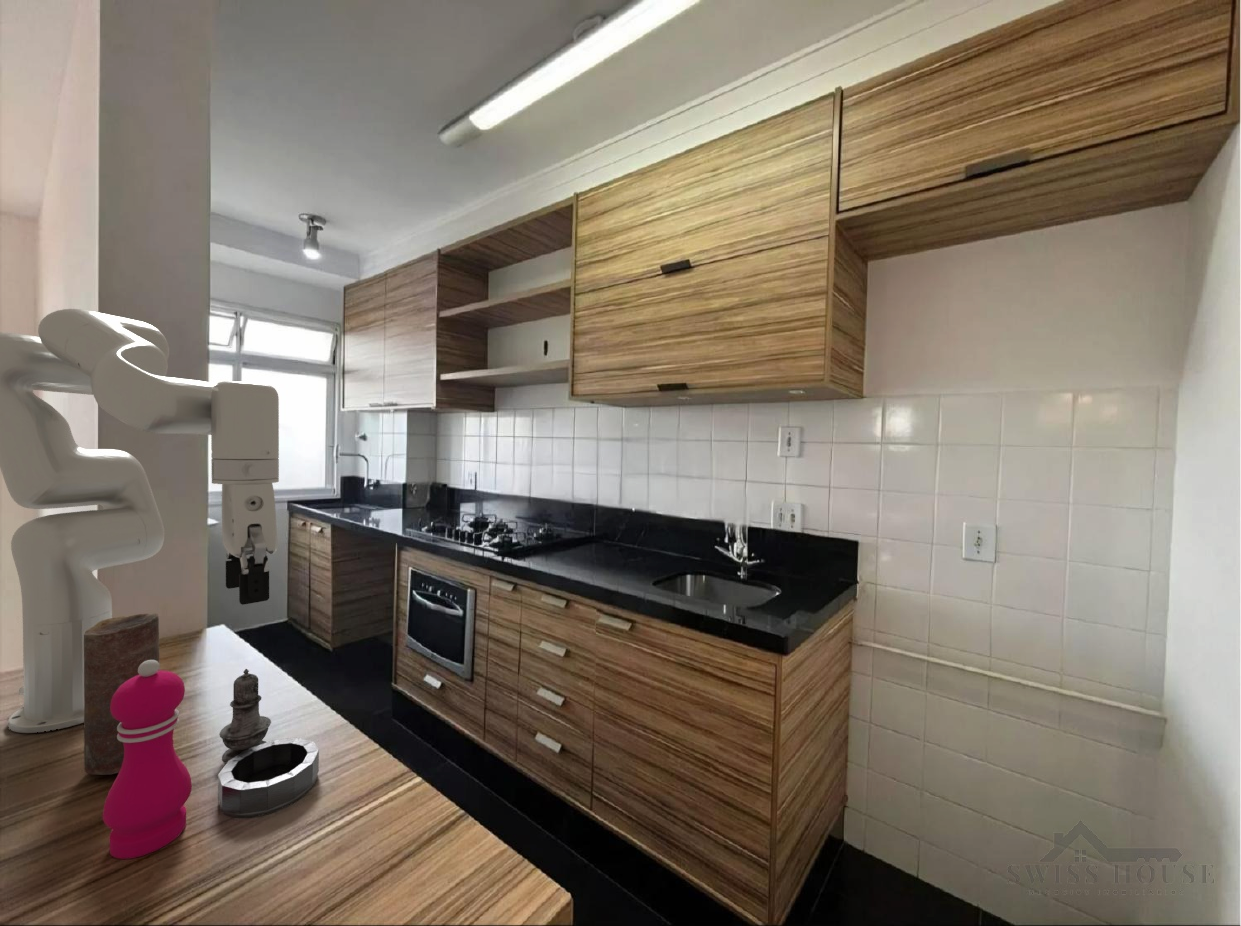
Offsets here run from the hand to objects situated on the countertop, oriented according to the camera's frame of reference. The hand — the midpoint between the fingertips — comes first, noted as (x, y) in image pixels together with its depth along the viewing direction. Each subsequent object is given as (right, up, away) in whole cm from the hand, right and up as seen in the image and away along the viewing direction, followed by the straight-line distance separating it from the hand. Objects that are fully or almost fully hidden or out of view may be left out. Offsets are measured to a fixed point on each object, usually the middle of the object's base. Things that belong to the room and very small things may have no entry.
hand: (246, 594), depth 71 cm
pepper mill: (0, -24, -15) cm, 28 cm away
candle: (-14, -23, -3) cm, 27 cm away
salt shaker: (-1, -23, +1) cm, 23 cm away
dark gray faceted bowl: (+8, -23, -6) cm, 25 cm away
